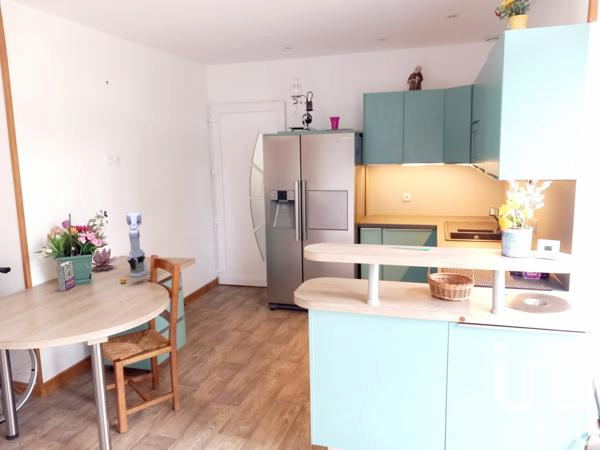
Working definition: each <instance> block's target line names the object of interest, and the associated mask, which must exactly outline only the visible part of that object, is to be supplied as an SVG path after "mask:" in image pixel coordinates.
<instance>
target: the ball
mask: <svg viewBox="0 0 600 450" xmlns="http://www.w3.org/2000/svg"><path fill="white" fill-rule="evenodd" d="M119 282H120V284H123V285H124V284H125V283H126V282H127V278H126V277H120V279H119Z"/></svg>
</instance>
